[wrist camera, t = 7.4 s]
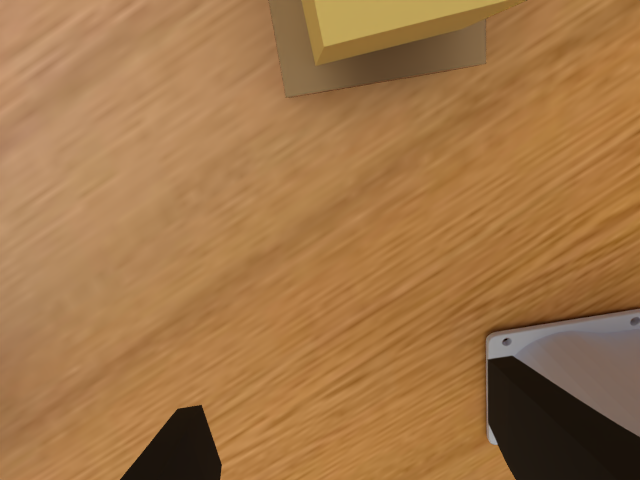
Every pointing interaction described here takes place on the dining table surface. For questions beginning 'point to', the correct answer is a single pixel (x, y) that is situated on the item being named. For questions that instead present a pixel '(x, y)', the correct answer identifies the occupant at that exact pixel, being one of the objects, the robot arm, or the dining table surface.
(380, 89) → the dining table surface
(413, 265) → the dining table surface
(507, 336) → the robot arm
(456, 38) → the walnut base
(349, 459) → the dining table surface
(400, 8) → the mustard brick
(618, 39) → the dining table surface
